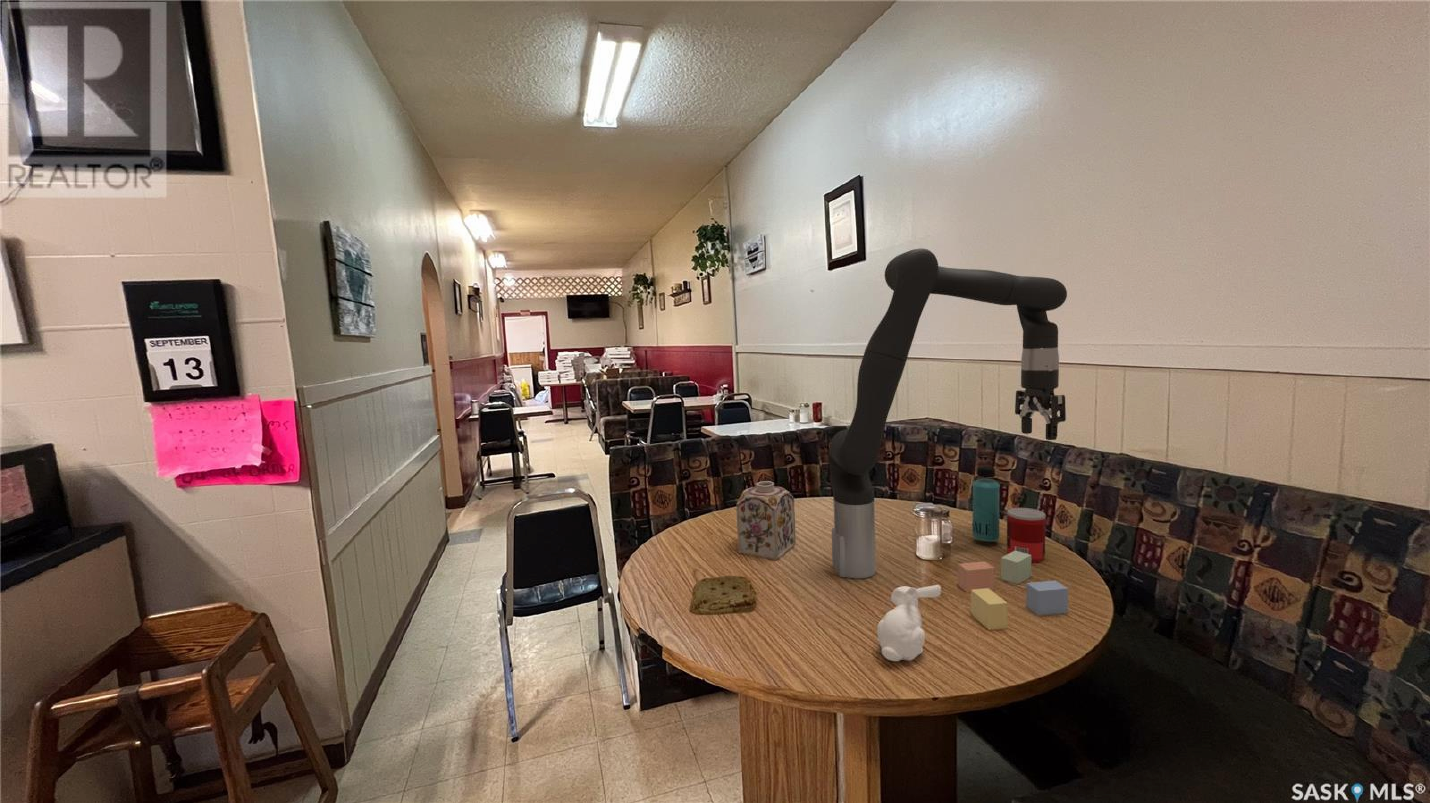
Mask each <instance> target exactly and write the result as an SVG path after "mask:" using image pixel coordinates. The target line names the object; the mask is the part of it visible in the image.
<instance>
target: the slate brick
mask: <svg viewBox="0 0 1430 803" xmlns="http://www.w3.org/2000/svg"><path fill="white" fill-rule="evenodd" d="M1025 589H1026V590H1025V591H1026V593H1025V595H1026V597H1025V599H1026V600H1025V602H1026V603H1025V607H1026V608H1027V609H1028V610H1030V611H1031V612H1033V613H1034V614H1035V615H1037V616H1038V617H1039V616H1049V615H1059V614H1068V613H1069V612H1068V611H1069V588H1068V587H1067V586H1065V585H1064V584H1062V583H1060V582H1059V581H1058V580H1047V581H1037V582H1036V581H1035V582H1026V588H1025Z"/></svg>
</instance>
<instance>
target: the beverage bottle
mask: <svg viewBox="0 0 1430 803" xmlns="http://www.w3.org/2000/svg"><path fill="white" fill-rule="evenodd" d="M976 475H977V477H982V478H977V479H976V480H974V481H973V483H972V498H971V499H972V503H971V505H972V513H971V515H972V521H971V522H972V524H971V525H972V526H971V527H972V529H971V532H972V536H973V538H975V539H976V540H979V541H982V542H996V541H999V539H1000V527H1001V525H1000V487H1001V485H1000V484H999V482H997V481H996V479H993V478H994V477H996V470H995V468H994V467H992V466H978V467H977V473H976ZM991 478H992V479H991Z"/></svg>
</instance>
